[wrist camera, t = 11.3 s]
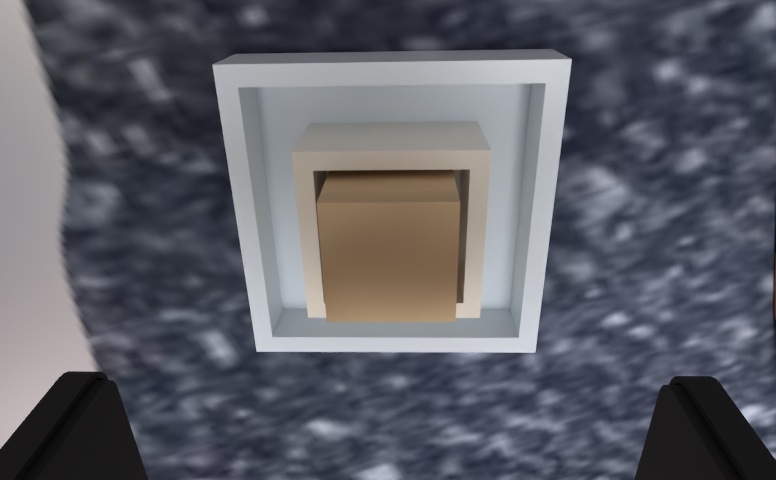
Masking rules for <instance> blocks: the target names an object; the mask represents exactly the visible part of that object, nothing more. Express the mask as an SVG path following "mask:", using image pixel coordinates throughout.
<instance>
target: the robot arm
mask: <svg viewBox="0 0 776 480" xmlns="http://www.w3.org/2000/svg"><path fill="white" fill-rule="evenodd" d="M0 480H148V478H147V475H146V472H145V469H144V466H143V463H142V460H141V457H140V454H139V451H138V448H137V445H136V442H135V439H134V436H133V433H132V430H131V427H130V424H129V421H128V418H127V415H126V412H125V409H124V406H123V403H122V400H121V397H120V394H119V391H118V388H117V385H116V383H115V382H114V381H111V380H108V378H107V376H106V375H105V374H104V373H103V372H66V373H64V374H63V375H62V376H61V377H59V379H58V380H57V381H56V382H55V383H54V385H53V386H52V387H51V388H50V389H49V391H48V392H47V393H46V394H45V396H44V397H43V398H42V399H41V400H40V402H39V403H38V404H37V405H36V407H35V408H34V409H33V410H32V411H31V413H30V414H29V415H28V416H27V417H26V419H25V420H24V421H23V422H22V424H21V425H20V426H19V427H18V428H17V430H16V431H15V432H14V433H13V434H12V436H11V437H10V438H9V439H8V441H7V442H6V443H5V444H4V445H3V447H2V448H1V449H0ZM634 480H776V460H775V459H774V457H773V456H772V455H771V453H770V452H769V450H768V449H767V448H766V446H765V445H764V444H763V442H762V441H761V439H760V438H759V437H758V435H757V434H756V433H755V431H754V430H753V428H752V427H751V426H750V424H749V423H748V421H747V420H746V419H745V417H744V416H743V415H742V413H741V412H740V410H739V409H738V408H737V406H736V405H735V403H734V402H733V401H732V399H731V398H730V397H729V395H728V394H727V392H726V391H725V390H724V388H723V387H722V385H721V384H720V383H719V382H718V381H717V380H716V379H715V378H713V377H711V376H676V377H674V378H673V379H672V380H671V382H670V384H669V385H663V386H662V387H661V389H660V391H659V395H658V399H657V402H656V406H655V409H654V413H653V416H652V420H651V423H650V427H649V430H648V434H647V437H646V441H645V444H644V448H643V451H642V455H641V458H640V462H639V465H638V469H637V472H636V476H635V479H634Z"/></svg>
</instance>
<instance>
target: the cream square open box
mask: <svg viewBox="0 0 776 480" xmlns="http://www.w3.org/2000/svg"><path fill="white" fill-rule="evenodd" d="M292 161H293V171H294V181H295V191H296V202H297V212H298V222H299V232H300V242H301V252H302V262H303V272H304V282H305V292H306V302H307V312H308V318H326V307H325V295H324V284H323V272H322V261H321V249H320V237H319V226H318V214H317V201H318V198H319V196H320V193H321V191H322V188H323V185H324V183H325V180H326V178H327V175H328V173H329V170H453V173H454V178H455V182H456V186H457V190H458V194H459V199H460V223H459V248H458V273H457V299H456V318H480V311H481V296H482V281H483V266H484V252H485V237H486V222H487V207H488V192H489V178H490V163H491V148H490V146H489V144H488V142H487V140H486V138H485V136H484V134H483V132H482V130H481V128H480V126H479V123H478V121H462V122H369V123H310V124H309V125H308V127H307V128H306V130H305V132H304V133H303V135H302V136H301V138H300V139H299V141H298V143H297V144H296V146H295V147H294V149H293V150H292Z"/></svg>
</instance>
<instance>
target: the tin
mask: <svg viewBox="0 0 776 480" xmlns="http://www.w3.org/2000/svg"><path fill="white" fill-rule="evenodd" d="M775 318H776V255H775Z"/></svg>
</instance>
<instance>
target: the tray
mask: <svg viewBox="0 0 776 480" xmlns="http://www.w3.org/2000/svg"><path fill="white" fill-rule="evenodd" d="M571 62H572V59H571V58H569V57H567V56H565V55H563V54H561V53H559V52H557V51H555V50H553V49H513V50H450V51H387V52H324V53H262V54H234V55H232V56H230V57H228V58H225V59H223V60H221V61H219V62H217V63H215V64H213V65H212V66H213V72H214V78H215V85H216V91H217V98H218V104H219V111H220V117H221V124H222V130H223V136H224V143H225V149H226V156H227V162H228V169H229V175H230V182H231V188H232V195H233V201H234V207H235V214H236V220H237V227H238V233H239V240H240V246H241V253H242V259H243V265H244V272H245V278H246V285H247V291H248V298H249V304H250V311H251V317H252V324H253V330H254V336H255V343H256V349H257V352H521V353H535V350H536V342H537V334H538V326H539V318H540V310H541V302H542V294H543V286H544V278H545V270H546V262H547V254H548V246H549V238H550V230H551V222H552V214H553V206H554V198H555V190H556V182H557V174H558V166H559V158H560V150H561V142H562V134H563V126H564V118H565V110H566V102H567V94H568V86H569V78H570V70H571ZM462 121H478V123H479V126H480V128H481V130H482V132H483V134H484V136H485V138H486V140H487V142H488V144H489V146H490V148H491V163H490V178H489V192H488V207H487V222H486V237H485V252H484V266H483V281H482V296H481V311H480V318H456V322H327V319H326V318H308V312H307V302H306V292H305V282H304V272H303V262H302V252H301V242H300V232H299V222H298V212H297V202H296V191H295V181H294V171H293V161H292V150H293V149H294V147H295V146H296V144H297V143H298V141H299V139H300V138H301V136H302V135H303V133H304V132H305V130H306V128H307V127H308V125H309V124H310V123H369V122H462Z"/></svg>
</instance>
